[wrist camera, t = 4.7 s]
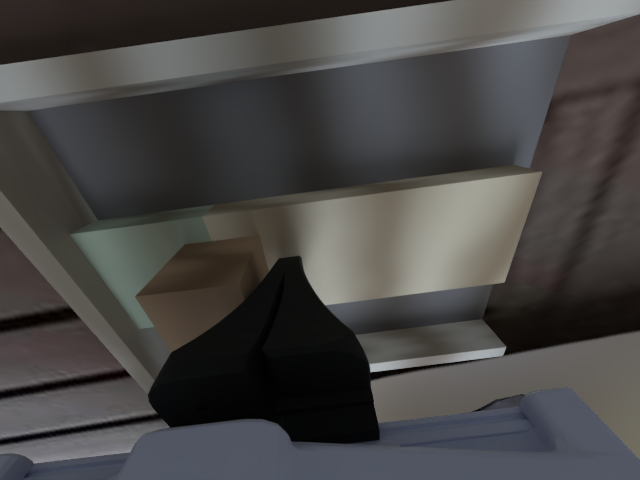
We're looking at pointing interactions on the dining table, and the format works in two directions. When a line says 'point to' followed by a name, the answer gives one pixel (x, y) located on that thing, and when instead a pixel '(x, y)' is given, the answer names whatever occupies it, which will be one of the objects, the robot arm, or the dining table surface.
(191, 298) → the walnut cube
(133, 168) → the box
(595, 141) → the dining table surface
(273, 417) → the robot arm
